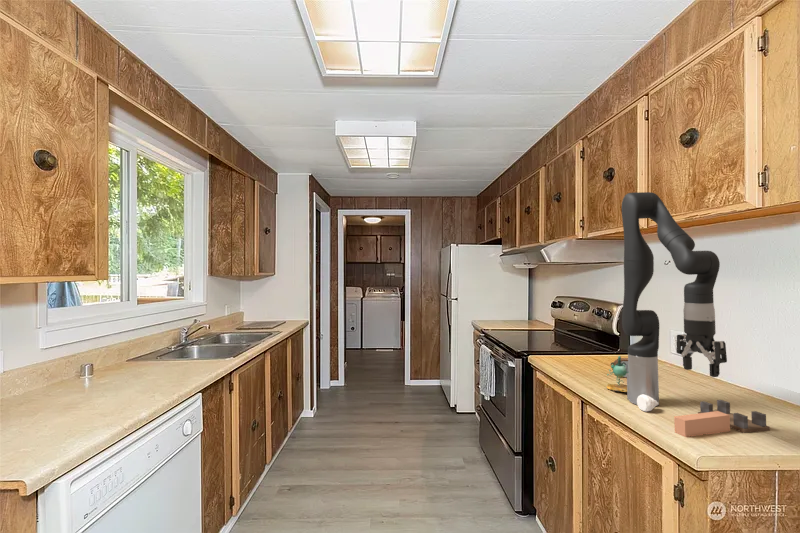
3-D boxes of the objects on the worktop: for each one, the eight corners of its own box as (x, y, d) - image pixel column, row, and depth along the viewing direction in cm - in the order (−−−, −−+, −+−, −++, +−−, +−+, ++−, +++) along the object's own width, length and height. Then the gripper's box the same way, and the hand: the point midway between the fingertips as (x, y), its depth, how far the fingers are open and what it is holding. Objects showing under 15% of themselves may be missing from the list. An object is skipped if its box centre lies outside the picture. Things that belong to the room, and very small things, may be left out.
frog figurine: (619, 398, 152) (615, 358, 154) (599, 389, 170) (596, 353, 171) (646, 398, 151) (642, 357, 153) (623, 389, 169) (620, 353, 171)
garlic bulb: (663, 412, 136) (663, 396, 136) (648, 413, 135) (647, 397, 135) (650, 406, 142) (650, 391, 142) (635, 408, 140) (635, 392, 140)
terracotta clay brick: (674, 433, 120) (674, 416, 120) (718, 427, 123) (718, 411, 123) (685, 438, 116) (684, 420, 116) (730, 432, 120) (729, 415, 120)
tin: (648, 376, 179) (648, 357, 179) (651, 378, 176) (651, 359, 176) (612, 376, 182) (611, 357, 182) (614, 378, 179) (614, 359, 179)
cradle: (697, 415, 133) (697, 401, 133) (721, 412, 135) (720, 399, 135) (744, 433, 118) (743, 417, 118) (769, 430, 120) (769, 414, 120)
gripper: (668, 316, 126) (669, 368, 126) (710, 321, 112) (712, 380, 112) (688, 315, 128) (690, 366, 128) (733, 320, 114) (735, 378, 114)
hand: (700, 372), depth 120 cm, fingers open, 8 cm apart
